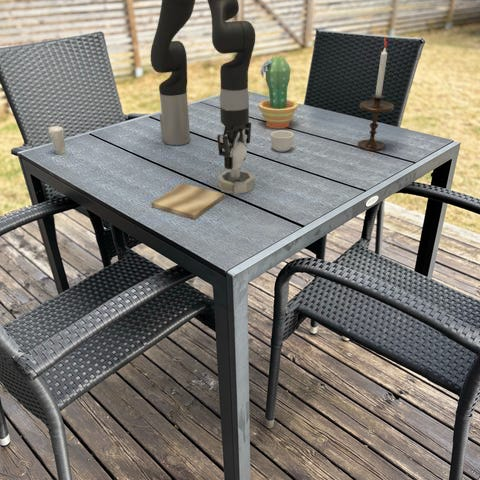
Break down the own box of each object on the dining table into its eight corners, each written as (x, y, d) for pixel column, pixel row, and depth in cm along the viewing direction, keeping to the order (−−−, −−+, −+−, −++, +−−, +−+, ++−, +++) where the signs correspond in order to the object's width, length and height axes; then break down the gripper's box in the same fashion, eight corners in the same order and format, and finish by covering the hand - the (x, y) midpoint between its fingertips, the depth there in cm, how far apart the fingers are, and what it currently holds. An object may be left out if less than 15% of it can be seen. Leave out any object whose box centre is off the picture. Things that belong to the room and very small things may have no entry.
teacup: (290, 154, 154) (291, 138, 152) (268, 152, 156) (268, 136, 154) (296, 144, 163) (296, 129, 160) (274, 142, 164) (275, 127, 162)
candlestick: (348, 143, 162) (361, 35, 144) (374, 139, 166) (389, 33, 147) (367, 154, 154) (383, 40, 135) (394, 149, 157) (413, 37, 139)
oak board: (151, 206, 124) (151, 202, 123) (183, 187, 134) (183, 183, 133) (194, 219, 117) (194, 215, 117) (224, 197, 128) (224, 193, 127)
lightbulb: (250, 175, 134) (250, 138, 128) (240, 184, 129) (240, 146, 123) (230, 171, 136) (229, 135, 130) (220, 180, 131) (219, 142, 126)
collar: (212, 189, 132) (212, 179, 131) (230, 176, 140) (230, 167, 138) (242, 196, 128) (242, 186, 126) (259, 183, 135) (259, 173, 134)
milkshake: (72, 151, 159) (66, 123, 154) (58, 156, 156) (51, 127, 150) (65, 148, 162) (59, 120, 156) (51, 153, 158) (44, 124, 153)
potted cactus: (271, 116, 190) (273, 51, 177) (304, 123, 183) (308, 55, 169) (250, 126, 180) (249, 58, 167) (284, 133, 172) (286, 63, 159)
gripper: (236, 96, 128) (237, 153, 137) (207, 109, 118) (209, 170, 127) (260, 100, 125) (259, 158, 134) (232, 114, 115) (233, 176, 124)
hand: (235, 164), depth 130 cm, fingers closed on lightbulb, 6 cm apart
